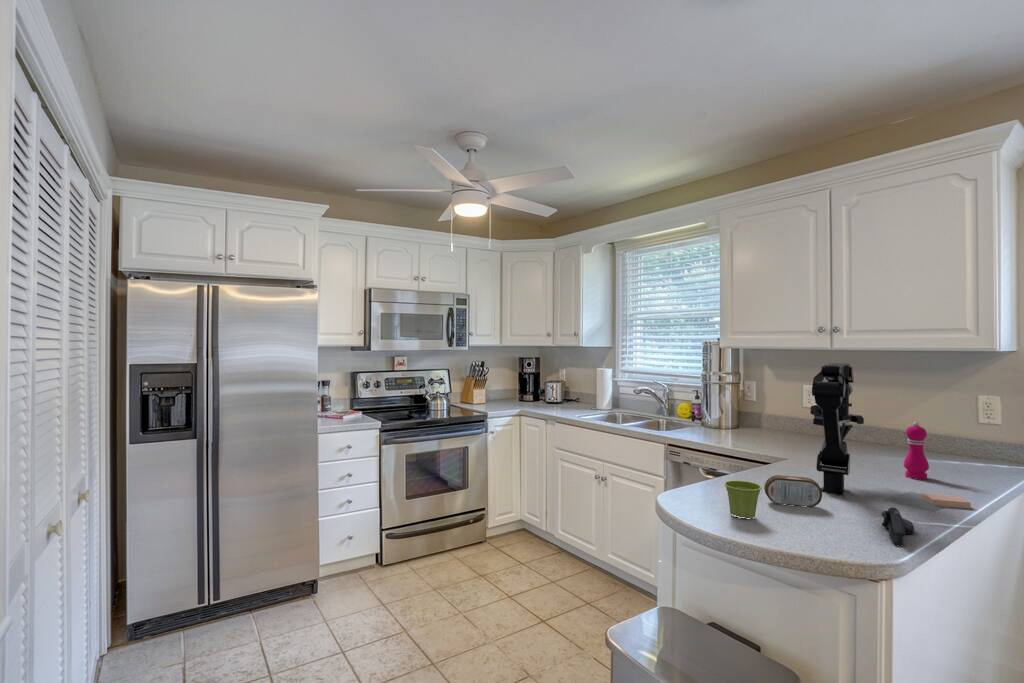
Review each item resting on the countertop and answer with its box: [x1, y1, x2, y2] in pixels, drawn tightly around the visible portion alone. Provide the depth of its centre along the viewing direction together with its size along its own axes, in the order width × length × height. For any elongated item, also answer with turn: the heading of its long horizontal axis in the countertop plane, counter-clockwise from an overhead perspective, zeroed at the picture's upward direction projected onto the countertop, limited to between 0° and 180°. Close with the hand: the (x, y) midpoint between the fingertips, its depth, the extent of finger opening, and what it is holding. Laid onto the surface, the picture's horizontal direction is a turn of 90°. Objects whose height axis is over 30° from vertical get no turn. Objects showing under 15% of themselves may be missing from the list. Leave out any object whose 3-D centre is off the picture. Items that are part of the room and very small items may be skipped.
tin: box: [764, 474, 823, 508], centre depth 155 cm, size 15×3×8 cm, turn 71°
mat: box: [882, 491, 946, 513], centre depth 158 cm, size 18×13×1 cm
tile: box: [921, 492, 972, 509], centre depth 155 cm, size 2×7×9 cm
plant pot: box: [724, 480, 763, 518], centre depth 144 cm, size 9×9×9 cm
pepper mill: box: [903, 421, 930, 480], centre depth 189 cm, size 7×7×20 cm
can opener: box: [880, 506, 915, 547], centre depth 130 cm, size 18×7×6 cm, turn 144°
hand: (837, 445), depth 181 cm, fingers closed
